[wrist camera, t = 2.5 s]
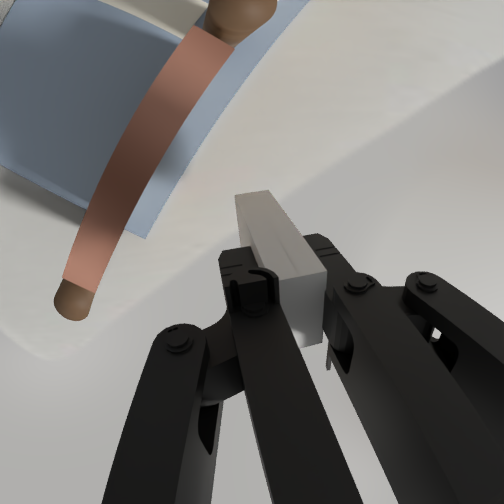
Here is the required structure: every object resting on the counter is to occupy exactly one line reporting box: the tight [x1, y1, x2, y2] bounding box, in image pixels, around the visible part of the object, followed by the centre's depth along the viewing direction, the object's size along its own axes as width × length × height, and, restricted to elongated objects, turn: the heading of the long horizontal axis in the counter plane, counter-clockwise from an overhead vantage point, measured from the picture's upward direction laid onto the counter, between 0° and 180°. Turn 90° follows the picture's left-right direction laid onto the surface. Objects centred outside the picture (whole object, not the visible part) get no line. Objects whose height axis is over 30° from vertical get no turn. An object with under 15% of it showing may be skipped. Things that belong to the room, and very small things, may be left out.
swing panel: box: [54, 25, 235, 321], centre depth 12 cm, size 12×2×7 cm, turn 145°
